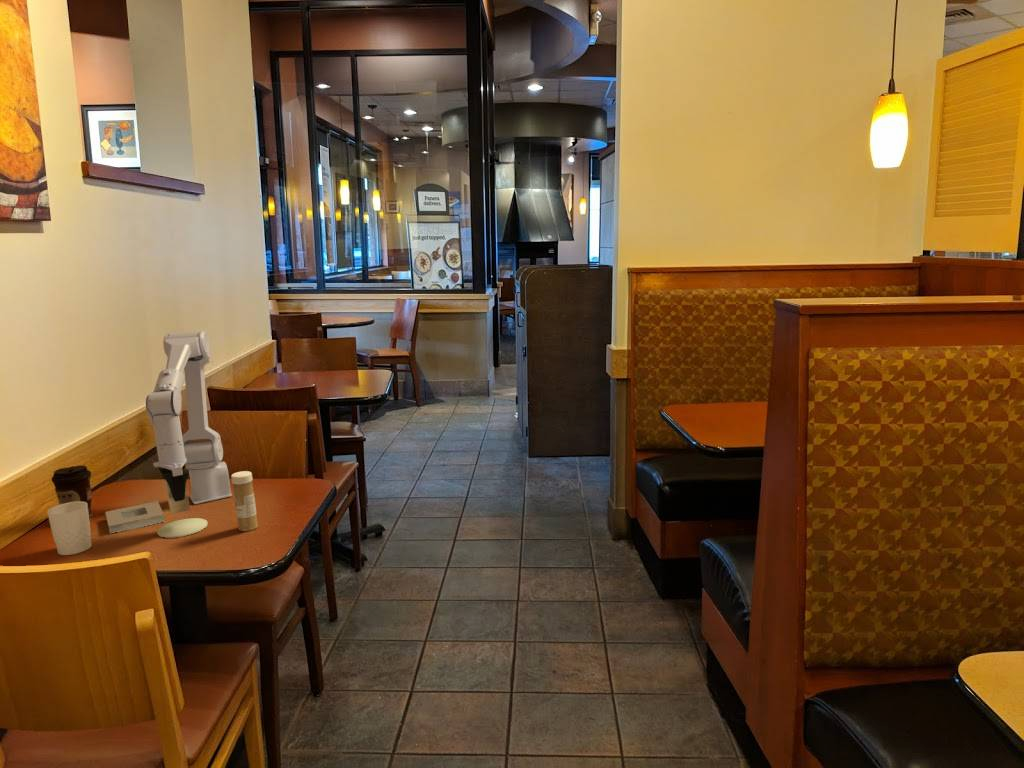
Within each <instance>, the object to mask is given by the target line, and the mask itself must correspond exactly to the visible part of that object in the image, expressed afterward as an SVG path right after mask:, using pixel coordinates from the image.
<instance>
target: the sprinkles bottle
mask: <svg viewBox="0 0 1024 768" xmlns="http://www.w3.org/2000/svg"><path fill="white" fill-rule="evenodd" d="M230 479H231V484H232V486H233V493H234V503H235V511H236V517H237V524H238V525H237V530H239V531H241V532H251V531H253V530H255V529H257V528H258V527H259V522H258V518H257V507H256V499H255V492H254V488H253V473H252V472H251V471H248V470H244V471H237V472H234V473H232V474H231V476H230Z"/></svg>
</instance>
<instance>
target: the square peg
mask: <svg viewBox="0 0 1024 768" xmlns="http://www.w3.org/2000/svg"><path fill="white" fill-rule="evenodd" d="M164 484H165V488H166V496H167V502H168V503H167V504H168V509H169V511H170V513H171V515H172V514H177V513H182V512H183V513H184V512H186V511H190V510H191V508H190V500H189V495H188V494H189V493H188V487H187V485H186V487H185V499H184V500H181V501H176V502H175V501H174V499H173V496H172V493H171V490H170V487H169V485H168V483H167V481H166V480H165V479H164Z"/></svg>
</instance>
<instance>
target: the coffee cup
mask: <svg viewBox="0 0 1024 768" xmlns="http://www.w3.org/2000/svg"><path fill="white" fill-rule="evenodd" d="M91 476H92V472H91V471H90V470H88V466H86V465H75V466H74V465H73V466H69V467H61V468H58V469H56V470H55V471H53V475H52V477H51V482H52V483H53V485H54V488H55V489H54V491H55V494H56V497H57V500H58V505H60V504H64V503H69V502H77V501H82V502H86V503H87V505H88V513H89V516H91V515H92V514H93V512H92V486H91Z"/></svg>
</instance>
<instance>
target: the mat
mask: <svg viewBox="0 0 1024 768" xmlns="http://www.w3.org/2000/svg"><path fill="white" fill-rule="evenodd" d="M208 525H209V524H208V520H206V519H204V518H199V517H194V518H193V517H192V518H183V519H179V520H174V521H172V522H168V523H166V524H164V525H162V526H161V527H159V528H158V530H157V531H156V532H157V535H159V536H158V537H160V538H162V537H165V538H164V539H175V538H174V537H179V538H184V537H183V536H185V537H188V536H187V535H189V536H192V535H195V534H198V533H200V532H202V531H203V529H204V528H205V529H206V528H207V527H208ZM205 529H204V530H205ZM201 530H202V531H201ZM199 531H200V532H199ZM197 532H198V533H197ZM194 533H195V534H194ZM191 534H192V535H191Z"/></svg>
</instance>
